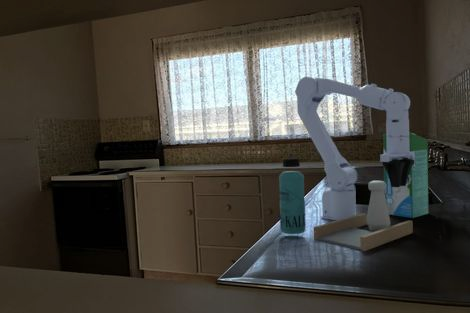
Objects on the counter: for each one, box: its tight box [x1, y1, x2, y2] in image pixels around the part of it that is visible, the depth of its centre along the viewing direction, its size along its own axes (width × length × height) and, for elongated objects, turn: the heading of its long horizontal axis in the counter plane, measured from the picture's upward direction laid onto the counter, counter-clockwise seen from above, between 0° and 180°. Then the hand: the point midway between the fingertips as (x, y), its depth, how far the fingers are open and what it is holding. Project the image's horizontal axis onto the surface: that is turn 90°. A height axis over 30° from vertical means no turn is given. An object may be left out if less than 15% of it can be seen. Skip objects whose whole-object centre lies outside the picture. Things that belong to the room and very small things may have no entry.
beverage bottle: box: [278, 157, 307, 235], centre depth 95 cm, size 6×7×20 cm
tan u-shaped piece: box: [313, 213, 414, 252], centre depth 94 cm, size 14×21×3 cm, turn 128°
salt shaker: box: [366, 180, 391, 232], centre depth 97 cm, size 6×6×13 cm
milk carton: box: [382, 132, 429, 219], centre depth 116 cm, size 9×9×25 cm
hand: (398, 186), depth 104 cm, fingers open, 3 cm apart
